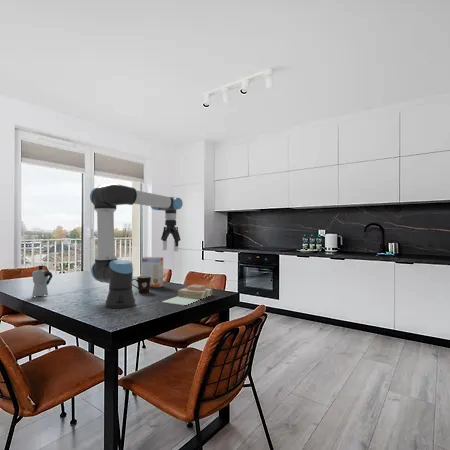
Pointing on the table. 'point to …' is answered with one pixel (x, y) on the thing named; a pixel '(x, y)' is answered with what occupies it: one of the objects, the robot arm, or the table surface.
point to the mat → (180, 300)
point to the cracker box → (153, 270)
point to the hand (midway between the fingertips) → (170, 250)
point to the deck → (195, 293)
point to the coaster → (196, 287)
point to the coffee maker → (41, 281)
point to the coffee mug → (143, 283)
